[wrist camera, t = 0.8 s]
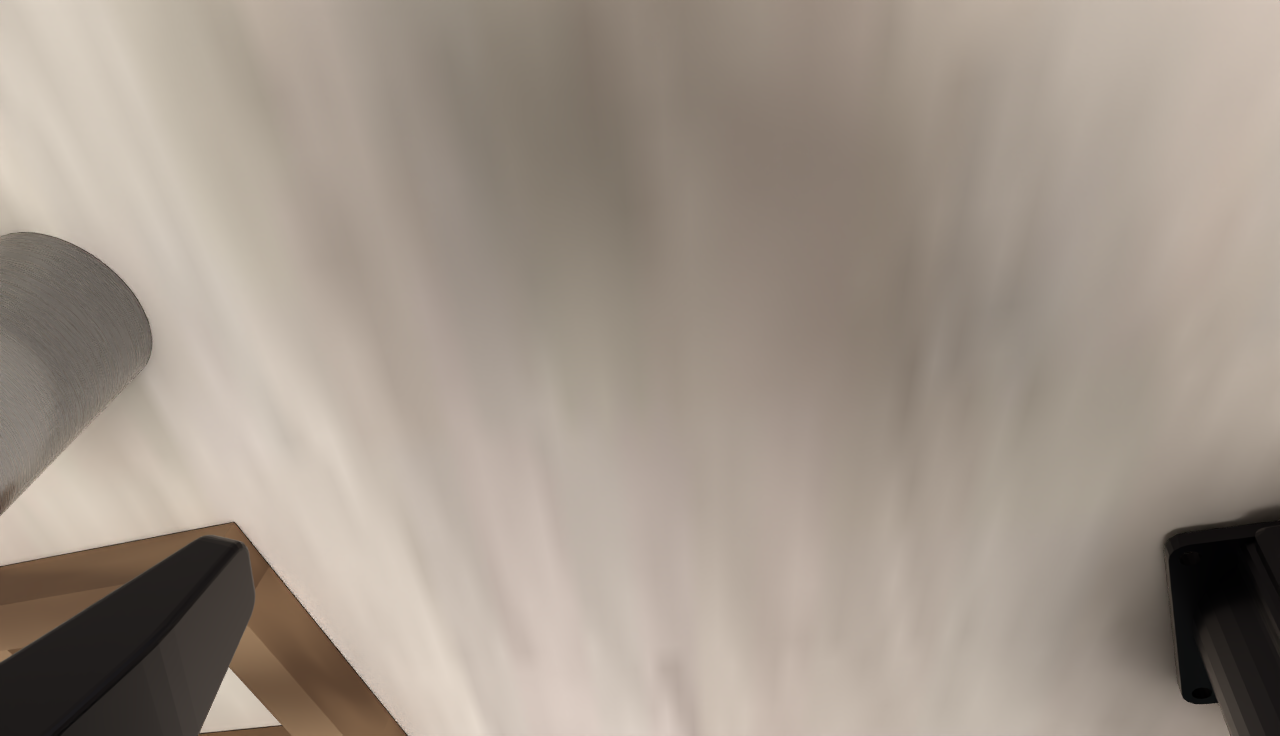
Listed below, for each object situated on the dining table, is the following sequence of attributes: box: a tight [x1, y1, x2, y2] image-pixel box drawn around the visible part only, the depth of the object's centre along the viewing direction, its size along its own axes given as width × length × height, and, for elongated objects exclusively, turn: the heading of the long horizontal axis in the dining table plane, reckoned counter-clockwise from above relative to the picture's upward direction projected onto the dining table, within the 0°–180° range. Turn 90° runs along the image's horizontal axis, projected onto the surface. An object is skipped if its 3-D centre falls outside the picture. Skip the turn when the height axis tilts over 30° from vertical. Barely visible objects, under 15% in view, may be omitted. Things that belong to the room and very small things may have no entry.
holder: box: [0, 523, 407, 736], centre depth 34 cm, size 12×12×2 cm
